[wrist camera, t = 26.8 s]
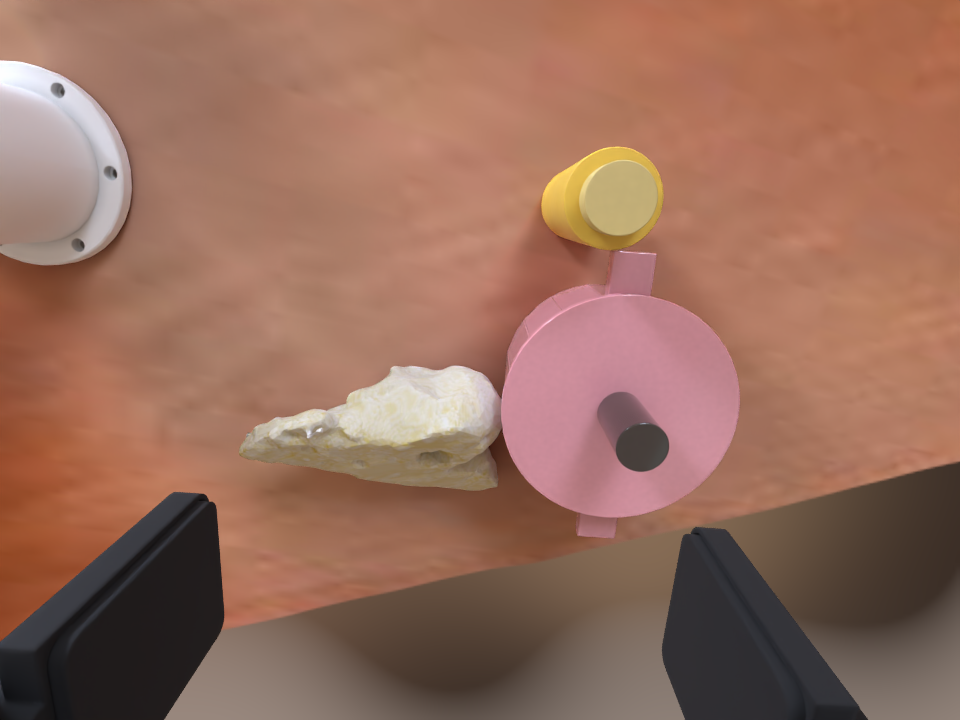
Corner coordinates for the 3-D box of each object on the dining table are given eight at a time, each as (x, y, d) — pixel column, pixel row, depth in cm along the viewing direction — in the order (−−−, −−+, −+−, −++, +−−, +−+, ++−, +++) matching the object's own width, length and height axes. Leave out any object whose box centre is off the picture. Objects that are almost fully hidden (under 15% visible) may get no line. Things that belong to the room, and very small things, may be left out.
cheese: (543, 386, 41) (433, 283, 30) (554, 478, 38) (432, 401, 26) (386, 431, 48) (246, 361, 36) (382, 514, 44) (224, 464, 32)
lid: (492, 500, 33) (493, 559, 28) (509, 283, 30) (514, 299, 24) (709, 515, 33) (754, 577, 28) (752, 299, 30) (814, 319, 24)
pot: (496, 477, 41) (498, 537, 33) (515, 238, 36) (522, 245, 29) (659, 488, 41) (698, 551, 33) (699, 251, 36) (755, 260, 29)
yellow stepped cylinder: (538, 237, 36) (563, 248, 24) (544, 166, 35) (574, 138, 23) (605, 241, 36) (665, 255, 24) (614, 170, 35) (682, 145, 23)
